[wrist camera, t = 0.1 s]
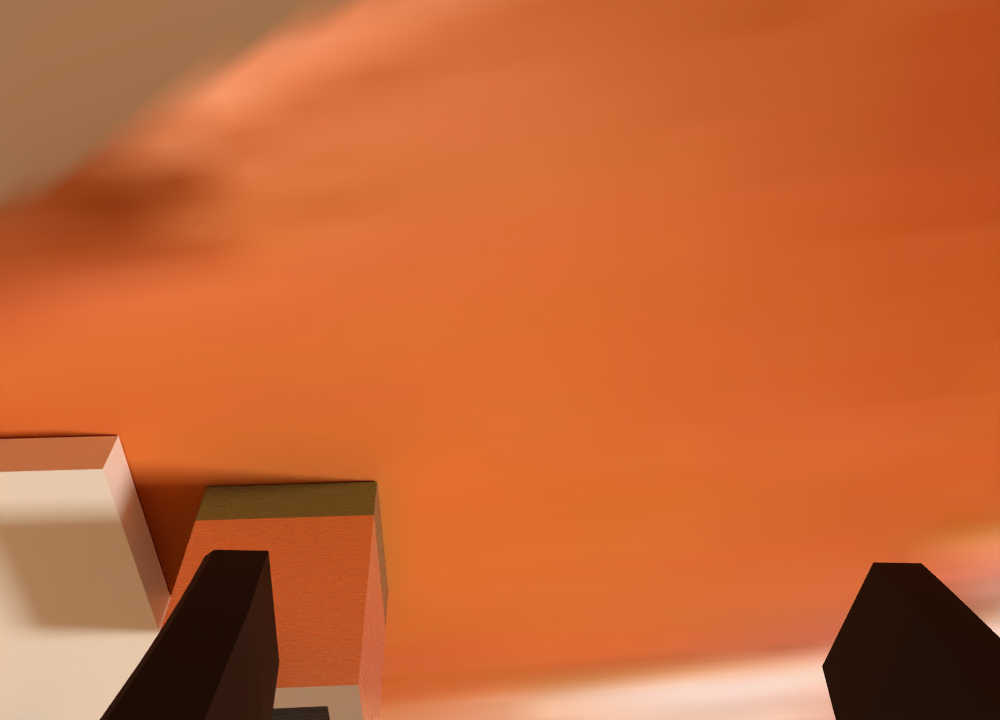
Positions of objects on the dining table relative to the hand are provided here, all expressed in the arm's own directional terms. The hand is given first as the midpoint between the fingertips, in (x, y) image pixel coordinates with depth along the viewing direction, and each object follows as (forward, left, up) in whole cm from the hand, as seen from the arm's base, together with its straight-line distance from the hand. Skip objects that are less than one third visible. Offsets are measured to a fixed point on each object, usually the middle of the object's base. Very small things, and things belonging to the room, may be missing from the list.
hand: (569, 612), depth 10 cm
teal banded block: (-9, +6, -10) cm, 15 cm away
